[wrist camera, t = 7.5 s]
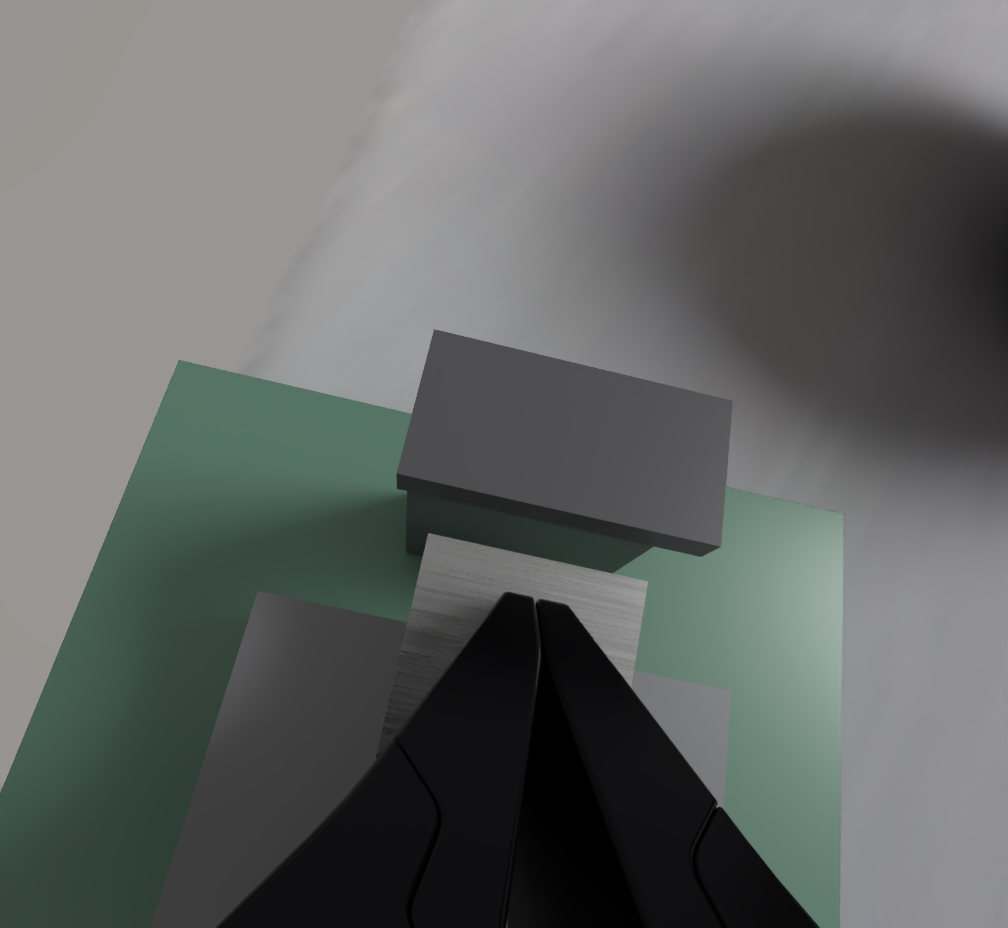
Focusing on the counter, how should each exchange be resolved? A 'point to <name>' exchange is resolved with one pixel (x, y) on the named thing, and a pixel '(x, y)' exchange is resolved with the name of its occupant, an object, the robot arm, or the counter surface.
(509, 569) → the light gray flat bar
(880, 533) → the counter surface
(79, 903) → the board
